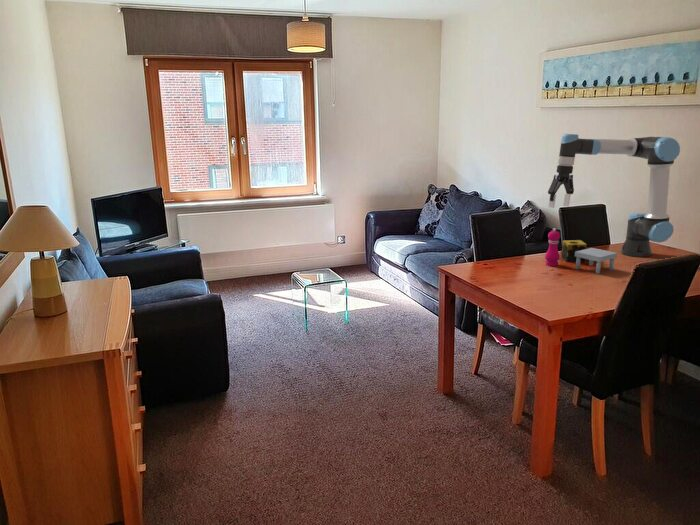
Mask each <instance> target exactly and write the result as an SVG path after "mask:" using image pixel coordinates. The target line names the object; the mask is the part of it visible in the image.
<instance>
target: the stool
mask: <svg viewBox="0 0 700 525" xmlns="http://www.w3.org/2000/svg"><path fill="white" fill-rule="evenodd" d="M575 256H576V257H577V258H576V262H575V269H576V270H580V269H581V262H580V261H581V258H585V260H589V261H588V266H591V267H593V266H594V262H596V265H595V266H596V267H595V275H600V274H601V265H602V262H605V261H608V260H609V265H608V270H609V271H614V269H615V268H614V266H615V259H616V258H618V252H614V251H609V250H604V249H599V248H594V247H589V248H586V249H585V250H580V251H576V252H575Z"/></svg>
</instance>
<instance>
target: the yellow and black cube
mask: <svg viewBox="0 0 700 525" xmlns="http://www.w3.org/2000/svg"><path fill="white" fill-rule="evenodd" d="M561 244H562V245H561V246H562V247H561V248H562V249H561V258H562V259H563V260H564V261H565V262H566V263H567V262H568V263H576V258H577V257H576V256H575V252H576V251H580V250H585V249H587V243H586V242H584V241H583V240H581V239H576V240H575V239H573V240H572V239H571V240H565V239H564V240H562V243H561ZM584 262H586V259H585V258H581V261H580V263H584Z"/></svg>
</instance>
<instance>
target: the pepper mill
mask: <svg viewBox="0 0 700 525" xmlns="http://www.w3.org/2000/svg"><path fill="white" fill-rule="evenodd" d="M547 237H548V249H547V251H546V253H545V254H544V255H545V256H544V259H545V260H546V261H545V266H547V265H548V267H553V266H554V267H558V266H559V260H560V259H561V257H560V253H559V249H558V244H559V241H560V238H561V234H560V232H559V231H557V228H555V227H554V228H552V230H551V231H550V232H548V235H547ZM557 265H558V266H557Z"/></svg>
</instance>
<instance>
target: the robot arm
mask: <svg viewBox="0 0 700 525" xmlns="http://www.w3.org/2000/svg"><path fill="white" fill-rule="evenodd" d="M680 146H681V145H680V143H679V142H678V140H677V139H675V138H672V137H667V136H646V137H645V136H644V137H630V138H629V139H616V138H615V139H607V138H579V135H578V134H577V133H576V134H573V133H564V134H562V136H561V139H560V147H559V155H558V158H557V159H558V162H557V166H556V173H557V174H554V175H553V179H552V181H551V183H550V186H549V189H548V190H547V194H549V195H550V196H549V202H548V208H551V209H554V208H555V204H556V199H557V195H556V194H557V192H558V191H559V189H560V188H561V186H562V185H563V186H564V189H565V193H564V198H563V203H562V204H563V205H562V206H563V207H570V200H571V195H573V194H574V191H575V188H574V179H573V178H574V175H573V171H574V165H575V158H576V155H589V156H594V155H595V156H596V155H598V154H600V155H602V154H603V155H626V156H628V157H634V158H641V159H645V160H647V166H649V167H650V172H649V184H648V186H649V187H648V199H647V200H648V201H647V213H646V212H645V213H644V212H643V213H642V212H640V213H638V212H637V213H636V212H635V213H631V214H629V215H628V219H627V228H626V235H625V236H626V237H625V241H624V243H623V245H622V247H621V249H620V253H621V254H622V255H624V254H625V255H624V256H629V257H634V258H635V257H638V258H643V257H644V258H645V257H647V258H648V257H651V256H652V253H653V251H652V247H651V246H652V245H651V242H654V243H664V242H666V241H668V240H669V239H670V238H671V237H672V236H673V234H674V226H673V224H672V223H671V222H670V215H669V214H668V213H667V210H668V209H667V208H668V199H669V197H668V195H669V186H670V184H669V182H670V171H671V167H672V166H673V165H674V162H675V160H676V159H677V157H679V155H680V152H681V147H680ZM650 241H651V242H650Z"/></svg>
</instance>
